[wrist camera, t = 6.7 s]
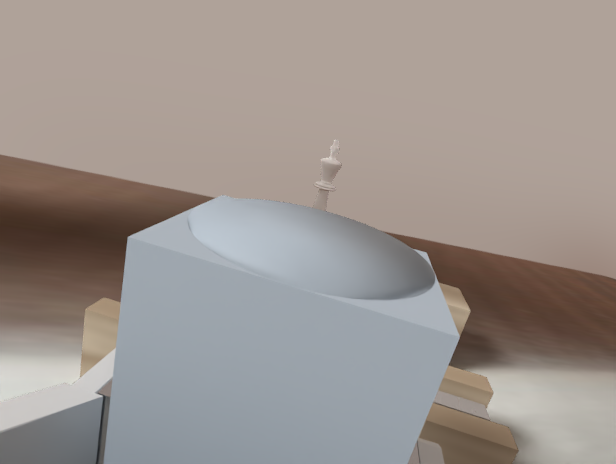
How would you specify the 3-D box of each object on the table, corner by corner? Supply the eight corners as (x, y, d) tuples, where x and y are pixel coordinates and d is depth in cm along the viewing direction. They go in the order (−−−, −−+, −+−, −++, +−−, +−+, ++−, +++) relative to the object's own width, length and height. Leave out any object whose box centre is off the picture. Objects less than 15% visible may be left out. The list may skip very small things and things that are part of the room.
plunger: (482, 443, 14) (495, 417, 14) (333, 394, 15) (342, 368, 14) (474, 419, 15) (485, 394, 15) (336, 375, 16) (344, 350, 15)
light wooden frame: (488, 528, 13) (535, 439, 12) (72, 383, 15) (78, 292, 14) (437, 343, 25) (459, 288, 23) (203, 272, 26) (213, 217, 25)
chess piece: (289, 246, 35) (316, 136, 32) (283, 228, 40) (306, 131, 37) (340, 255, 36) (370, 149, 33) (328, 236, 41) (354, 142, 38)
